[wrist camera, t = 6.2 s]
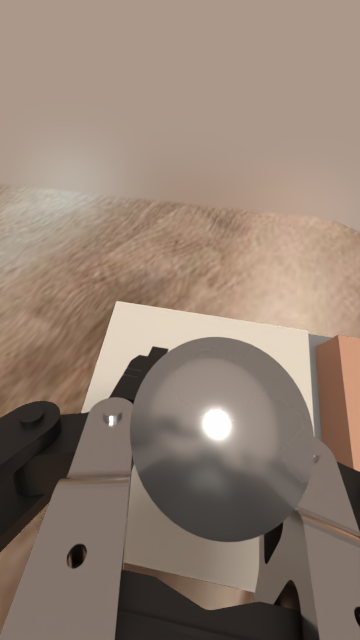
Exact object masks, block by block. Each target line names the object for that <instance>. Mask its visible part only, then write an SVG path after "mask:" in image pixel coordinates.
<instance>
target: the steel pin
mask: <svg viewBox="0 0 360 640" xmlns="http://www.w3.org/2000/svg"><path fill="white" fill-rule="evenodd" d="M130 443H131V451H132V456H133V461H134V464H135V467H136V470H137V474H138V476H139V478H140V480H141V482H142V485H143V487H144V488H145V490H146V492H147V493H148V495H149V497H150V498H151V500H152V501H153V502H154V503H155V505H156V506H157V507H158V508H159V510H160V511H161V512H162V513H163V514H164V515H165V516H167V517H168V518H169V519H170V520H171V521H172V522H173V523H175V524H176V525H178V526H179V527H181V528H182V529H184V530H185V531H187V532H190V533H192V534H194V535H196V536H198V537H201V538H205V539H208V540H211V541H219V542H241V541H245V540H250V539H254V538H256V537H259V536H261V535H264V534H266V533H268V532H269V531H271V530H272V529H274V528H276V527H277V526H278V525H280V524H281V523H282V522H283V521H284V520H285V519H286V518H287V517H288V516H289V515H290V514H291V513H292V512H293V510H294V509H295V508H296V507H297V505H298V503H299V502H300V500H301V498H302V497H303V495H304V493H305V490H306V488H307V486H308V483H309V480H310V476H311V473H312V469H313V462H314V432H313V425H312V421H311V417H310V413H309V410H308V407H307V405H306V402H305V400H304V398H303V396H302V394H301V392H300V390H299V388H298V386H297V385H296V383H295V382H294V380H293V379H292V377H291V376H290V375H289V374H288V372H287V371H286V370H285V369H284V368H283V367H282V366H281V365H280V364H279V363H278V362H277V361H276V360H275V359H273V358H272V357H271V356H270V355H268V354H267V353H265V352H264V351H262V350H261V349H259V348H257V347H255V346H253V345H251V344H249V343H246V342H243V341H240V340H236V339H232V338H226V337H205V338H199V339H195V340H191V341H188V342H186V343H183V344H181V345H179V346H177V347H175V348H174V349H172V350H170V351H169V352H168V353H166V354H165V355H164V356H163V357H161V358H160V359H159V360H158V361H157V362H156V363H155V364H154V365H153V367H152V368H151V369H150V371H149V372H148V373H147V375H146V376H145V378H144V380H143V381H142V383H141V385H140V388H139V390H138V392H137V394H136V398H135V401H134V404H133V408H132V414H131V420H130Z"/></svg>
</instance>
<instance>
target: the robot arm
mask: <svg viewBox="0 0 360 640" xmlns="http://www.w3.org/2000/svg"><path fill="white" fill-rule="evenodd" d="M168 352H169V349H167V348H161V347H155V346H153V347H152V349H151V351H150V353H149V355H148V356H143V355H138V356H137V357H135V358H134V359H132V360H131V361H130V363H129V365H128V366H127V369H126V370H125V371H124V373H123V375H122V376H121V378H120V380H119V381H118V383H117V385H116V386H115V388H114V390H113V391H112V393H111V395H110V396H109V398H107V399H104V400H101V401H99V402H98V403H96V404H95V405H94V406H93V407H92V408H91V410H90V412H86V413H79V414H66V415H60V410H59V408H58V406H57V405H56V404H54V403H52V402H47V401H37V402H32V403H28V404H25V405H23V406H21V407H19V408H17V409H15V410H13V411H12V412H10V413H8V414H6V415H5V416H3V417H1V418H0V552H1V551H2V550H3V549H4V548H5V547H6V546H7V545H8V544H9V543H10V542H11V541H12V540H13V539H14V538H15V537H16V536H17V535H18V534H19V533H20V532H21V531H22V530H23V528H24V527H25V526H26V525H27V524H28V523H29V522H30V521H31V520H32V519H33V518H34V517H35V516H36V515H37V514H38V513H39V512H40V511H41V510H42V509H43V508H44V507H45V506H46V505H47V504H48V503H49V502H50V503H49V505H48V508H47V511H46V513H45V516H44V519H43V521H42V524H41V527H40V529H39V532H38V535H37V537H36V540H35V543H34V545H33V548H32V551H31V554H30V556H29V559H28V562H27V564H26V567H25V570H24V572H23V575H22V578H21V580H20V583H19V586H18V588H17V591H16V594H15V597H14V599H13V602H12V605H11V607H10V610H9V613H8V615H7V618H6V621H5V623H4V626H3V629H2V631H1V634H0V640H360V472H359V471H357V470H355V469H352V468H350V467H348V466H346V465H343V464H341V463H339V462H337V461H336V459H335V456H334V455H333V453H332V452H331V450H330V449H329V448H328V447H327V446H326V445H325V444H324V443H323V442H322V441H320V440H319V439H318V438H316V437H314V462H313V469H312V473H311V476H310V480H309V483H308V486H307V488H306V490H305V493H304V495H303V497H302V498H301V500H300V502H299V503H298V505H297V507H296V508H295V509H294V510H293V512H292V513H291V514H290V515H289V516H288V517H287V518H286V519H285V520H284V521H283V522H282V523H281V524H280V525H278V526H277V527H276V528H274V529H272V530H271V531H269V532H268V533H266V534H264V535H261V536H259V572H258V579H257V584H256V589H255V595H254V603H249V604H243V605H238V606H232V607H227V608H222V609H216V610H205V609H203V608H201V607H200V606H198V605H197V604H195V603H194V602H192V601H191V600H189V599H188V598H186V597H184V596H183V595H181V594H180V593H178V592H177V591H175V590H174V589H172V588H171V587H169V586H168V585H166V584H165V583H163V582H162V581H160V580H159V579H157V578H156V577H152V576H147V575H143V574H139V573H134V572H130V571H126V570H124V558H125V545H126V533H127V521H128V510H129V498H130V486H131V474H132V469H133V466H134V461H133V456H132V451H131V443H130V420H131V414H132V408H133V404H134V401H135V398H136V394H137V392H138V390H139V388H140V385H141V383H142V381H143V380H144V378H145V376H146V375H147V373H148V372H149V371H150V369H151V368H152V367H153V365H154V364H155V363H156V362H157V361H158V360H159V359H160V358H161V357H163V356H164V355H165V354H166V353H168Z"/></svg>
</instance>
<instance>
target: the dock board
mask: <svg viewBox="0 0 360 640" xmlns="http://www.w3.org/2000/svg"><path fill="white" fill-rule="evenodd" d="M205 337H226V338H232V339H236V340H240V341H243V342H246V343H249V344H251V345H253V346H255V347H257V348H259V349H261V350H262V351H264V352H265V353H267V354H268V355H270V356H271V357H272V358H273V359H275V360H276V361H277V362H278V363H279V364H280V365H281V366H282V367H283V368H284V369H285V370H286V371H287V372H288V374H289V375H290V376H291V377H292V379H293V380H294V382H295V383H296V385H297V386H298V388H299V390H300V392H301V394H302V396H303V398H304V400H305V402H306V405H307V407H308V410H309V413H310V417H311V421H312V425H313V432H314V437H316V438H318V439H319V440H320V441H322V442H323V443H324V444H325V445H326V446H327V447H328V448H329V449H330V450H331V452H332V453H333V455H334V456H335V459H336V461H337V462H339V463H341V464H343V465H346V466H348V467H350V468H352V469H355V470H357V471H359V472H360V338H354V337H348V336H341V335H337V336H335V337H333V338H331V337H324V336H318V335H311V334H308V330H302V329H295V328H289V327H282V326H276V325H269V324H263V323H256V322H250V321H243V320H237V319H230V318H224V317H217V316H211V315H204V314H198V313H191V312H185V311H178V310H171V309H165V308H158V307H152V306H145V305H139V304H132V303H126V302H119V301H116V304H115V308H114V311H113V314H112V317H111V320H110V323H109V327H108V330H107V333H106V336H105V339H104V342H103V345H102V349H101V352H100V355H99V358H98V361H97V364H96V367H95V371H94V374H93V377H92V380H91V383H90V386H89V390H88V393H87V396H86V399H85V402H84V405H83V408H82V412H81V413H86V412H90V410H91V408H92V407H93V406H94V405H95V404H96V403H98V402H99V401H101V400H104V399H107V398H109V396H110V395H111V393H112V391H113V390H114V388H115V386H116V385H117V383H118V381H119V380H120V378H121V376H122V375H123V373H124V371H125V370H126V369H127V366H128V365H129V363H130V361H131V360H132V359H134V358H135V357H137V356H138V355H143V356H148V355H149V353H150V351H151V349H152V347H153V346H155V347H161V348H167V349H169V351H170V350H172V349H174V348H175V347H177V346H179V345H181V344H183V343H186V342H188V341H191V340H195V339H199V338H205ZM124 563H128V564H133V565H137V566H141V567H146V568H150V569H154V570H159V571H163V572H167V573H172V574H176V575H181V576H185V577H189V578H194V579H198V580H202V581H207V582H211V583H215V584H220V585H224V586H228V587H233V588H237V589H241V590H246V591H250V592H254V593H255V589H256V584H257V579H258V572H259V537H256V538H254V539H250V540H245V541H241V542H219V541H211V540H208V539H205V538H201V537H198V536H196V535H194V534H192V533H190V532H187V531H185V530H184V529H182V528H181V527H179V526H178V525H176V524H175V523H173V522H172V521H171V520H170V519H169V518H168V517H167V516H165V515H164V514H163V513H162V512H161V511H160V510H159V508H158V507H157V506H156V505H155V503H154V502H153V501H152V500H151V498H150V497H149V495H148V493H147V492H146V490H145V488H144V487H143V485H142V482H141V480H140V478H139V476H138V474H137V470H136V467H135V464H134V466H133V469H132V474H131V486H130V498H129V510H128V521H127V533H126V545H125V558H124Z"/></svg>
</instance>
